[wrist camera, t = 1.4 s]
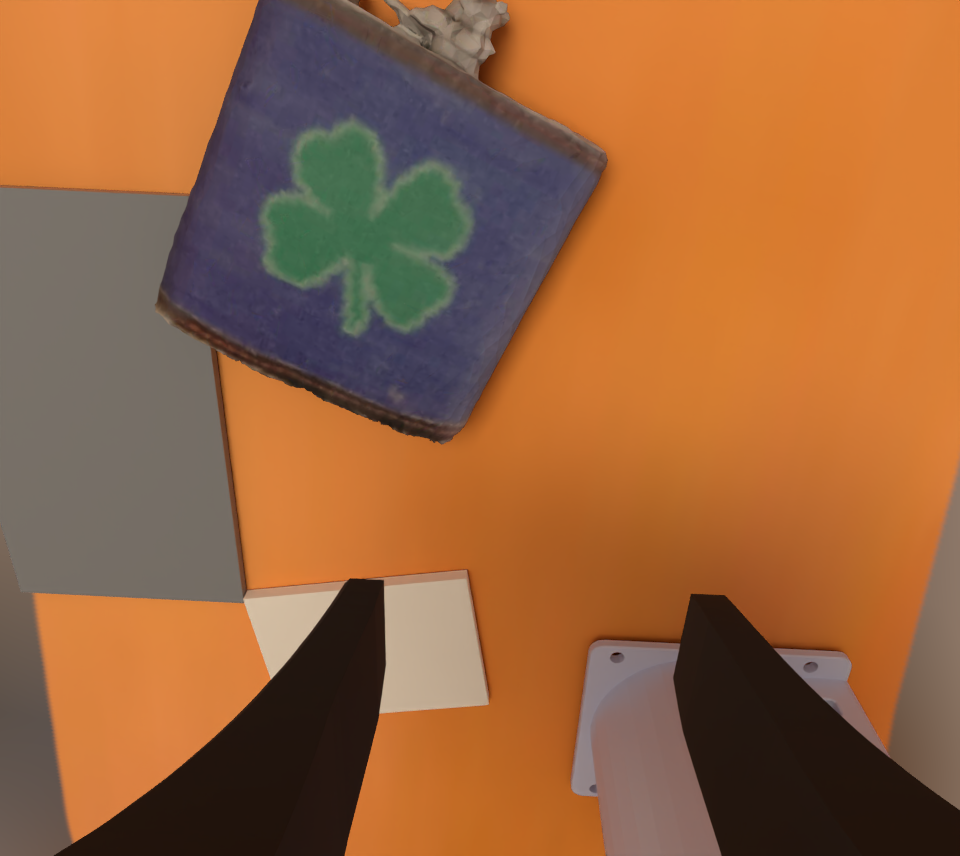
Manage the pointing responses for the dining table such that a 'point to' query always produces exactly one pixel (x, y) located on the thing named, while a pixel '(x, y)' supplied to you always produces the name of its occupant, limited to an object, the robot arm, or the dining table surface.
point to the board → (107, 407)
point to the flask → (373, 210)
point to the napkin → (391, 636)
